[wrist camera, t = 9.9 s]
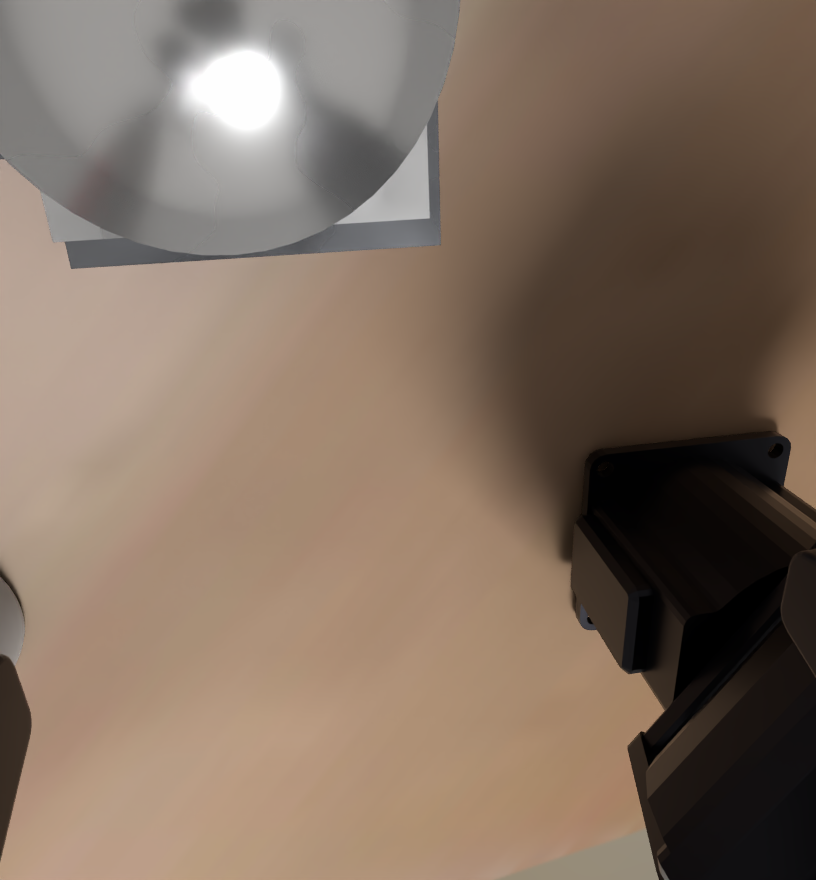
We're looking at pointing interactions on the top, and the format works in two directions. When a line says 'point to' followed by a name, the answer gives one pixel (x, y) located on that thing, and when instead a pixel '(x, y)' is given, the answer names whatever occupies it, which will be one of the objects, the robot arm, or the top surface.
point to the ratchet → (324, 241)
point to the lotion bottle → (10, 623)
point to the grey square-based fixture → (222, 115)
